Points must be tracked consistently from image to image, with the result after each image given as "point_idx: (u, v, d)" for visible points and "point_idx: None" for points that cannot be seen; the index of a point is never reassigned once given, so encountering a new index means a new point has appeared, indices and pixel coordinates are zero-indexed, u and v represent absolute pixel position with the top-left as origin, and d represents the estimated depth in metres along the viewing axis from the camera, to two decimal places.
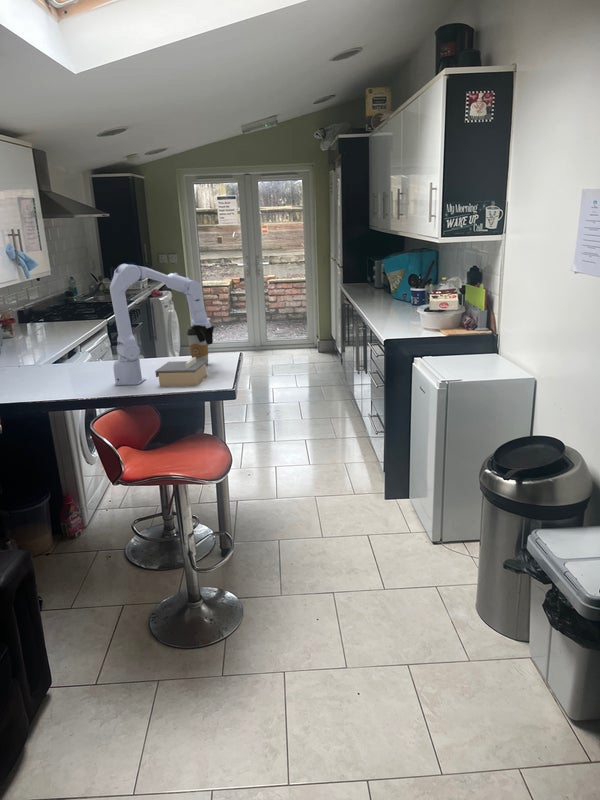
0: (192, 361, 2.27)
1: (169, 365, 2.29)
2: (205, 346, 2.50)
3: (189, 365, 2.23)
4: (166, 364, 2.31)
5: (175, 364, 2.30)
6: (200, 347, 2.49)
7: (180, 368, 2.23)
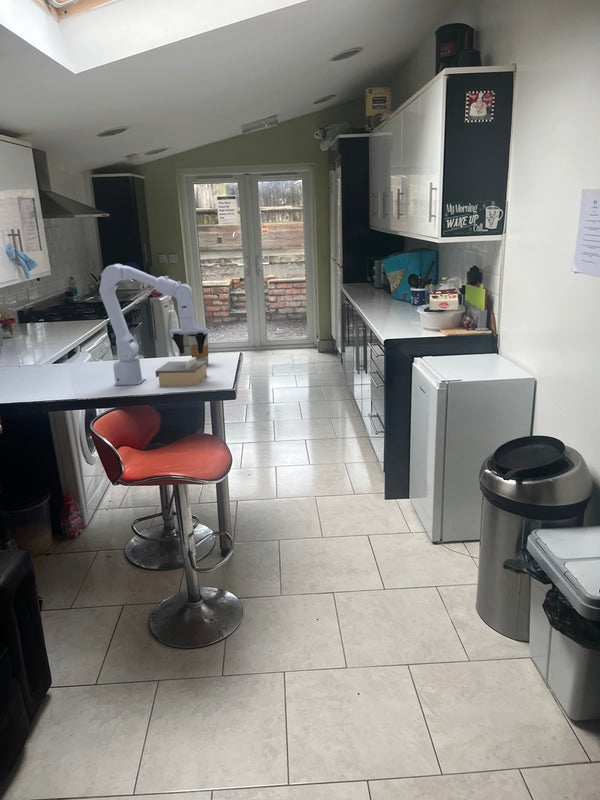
0: (192, 361, 2.27)
1: (169, 365, 2.29)
2: (205, 347, 2.50)
3: (189, 365, 2.23)
4: (166, 364, 2.31)
5: (175, 364, 2.30)
6: None
7: (180, 368, 2.23)
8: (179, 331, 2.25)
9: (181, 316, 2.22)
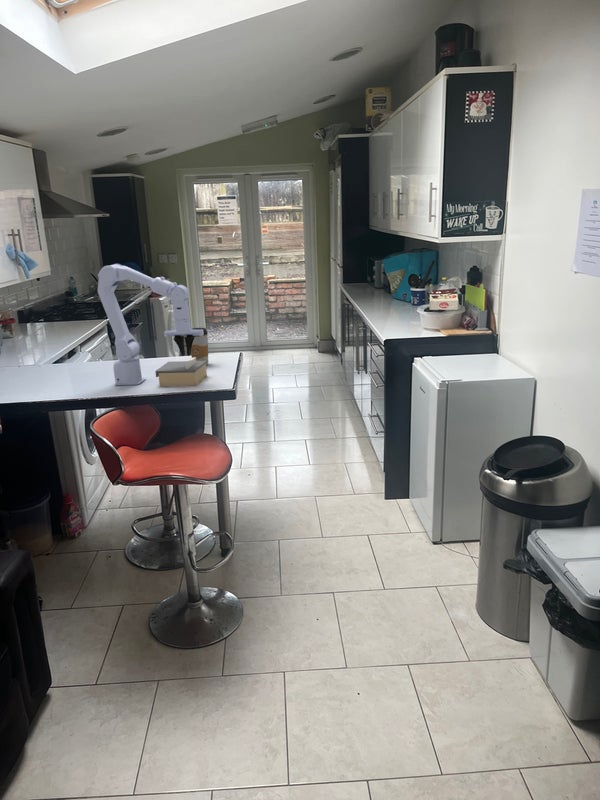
0: (192, 361, 2.27)
1: (169, 365, 2.29)
2: (205, 347, 2.50)
3: (189, 365, 2.23)
4: (166, 364, 2.31)
5: (175, 364, 2.30)
6: (200, 348, 2.48)
7: (180, 368, 2.23)
8: (174, 333, 2.22)
9: (176, 317, 2.20)
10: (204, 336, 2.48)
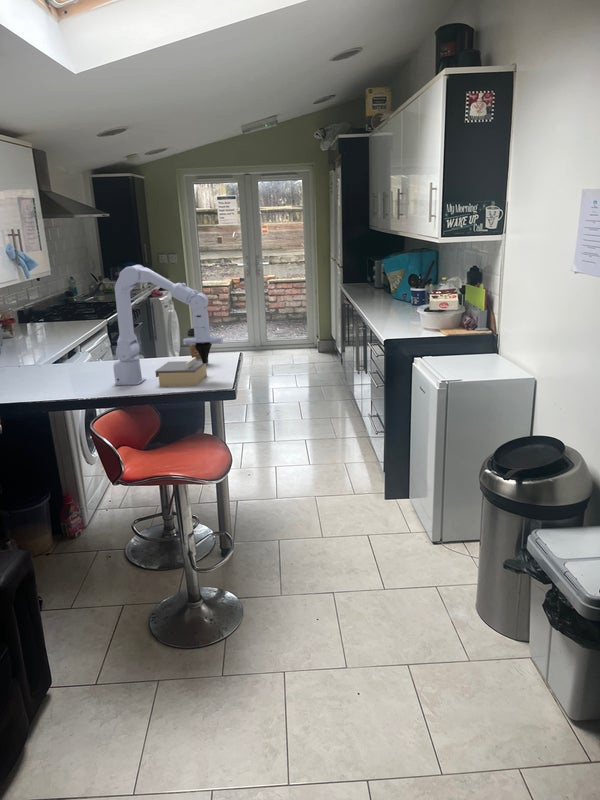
0: (192, 361, 2.27)
1: (169, 365, 2.29)
2: None
3: (189, 365, 2.23)
4: (166, 364, 2.31)
5: (175, 364, 2.30)
6: None
7: (180, 368, 2.23)
8: (194, 340, 2.22)
9: (195, 325, 2.20)
10: None
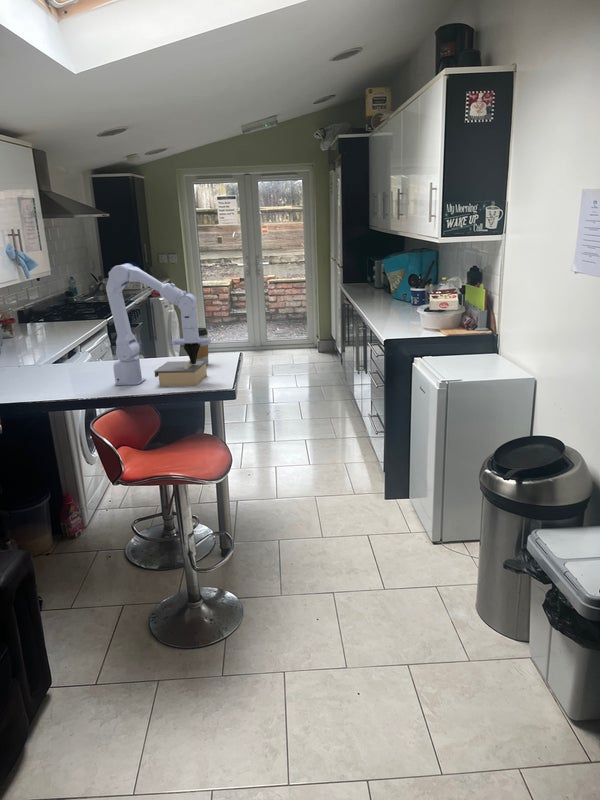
0: None
1: (168, 365, 2.29)
2: (205, 347, 2.50)
3: (188, 365, 2.23)
4: (165, 364, 2.31)
5: (174, 364, 2.30)
6: (200, 348, 2.48)
7: (179, 368, 2.23)
8: (182, 341, 2.22)
9: (184, 326, 2.20)
10: (204, 336, 2.48)
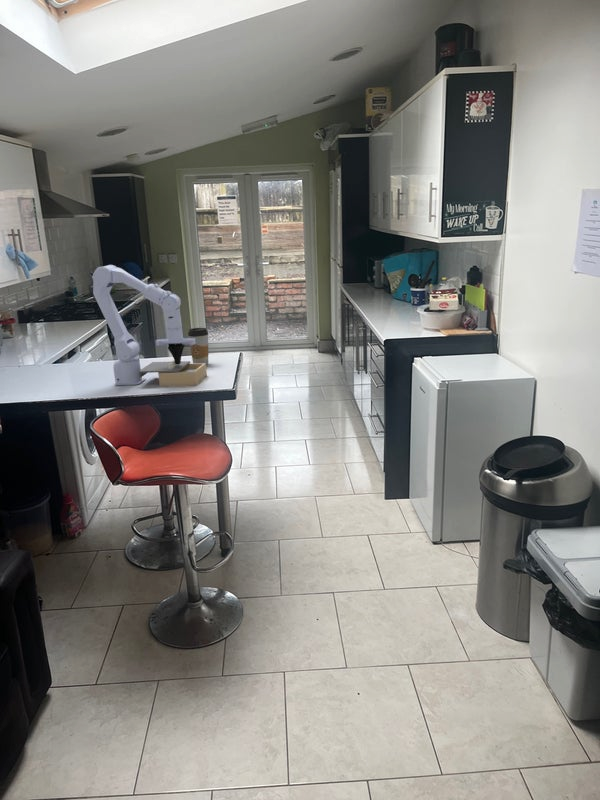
0: None
1: (153, 365, 2.30)
2: (206, 347, 2.50)
3: (172, 365, 2.24)
4: (150, 364, 2.32)
5: (159, 364, 2.31)
6: (200, 348, 2.48)
7: (163, 368, 2.24)
8: (166, 341, 2.23)
9: (168, 326, 2.21)
10: (204, 336, 2.48)
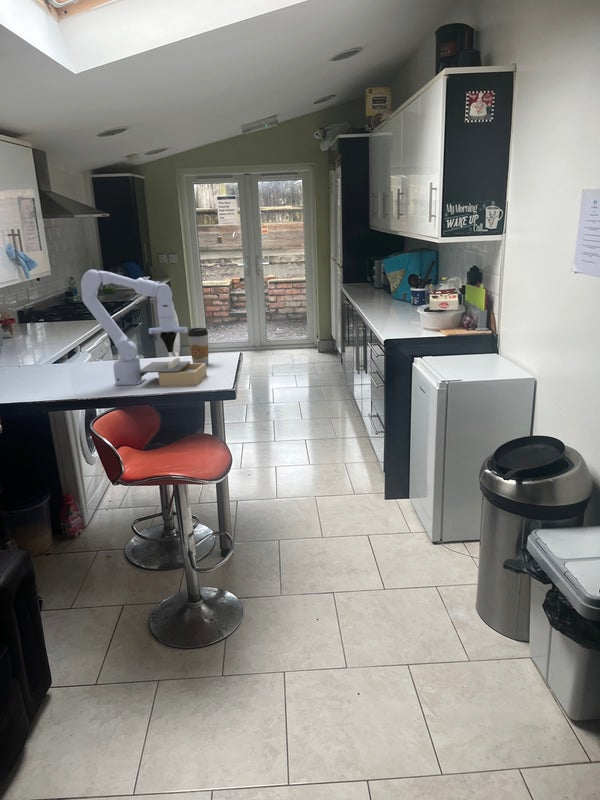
0: (175, 361, 2.28)
1: (153, 365, 2.30)
2: (205, 347, 2.50)
3: (172, 365, 2.24)
4: (150, 364, 2.32)
5: (159, 364, 2.31)
6: (200, 349, 2.48)
7: (163, 368, 2.24)
8: (159, 330, 2.27)
9: (162, 315, 2.25)
10: (204, 336, 2.48)
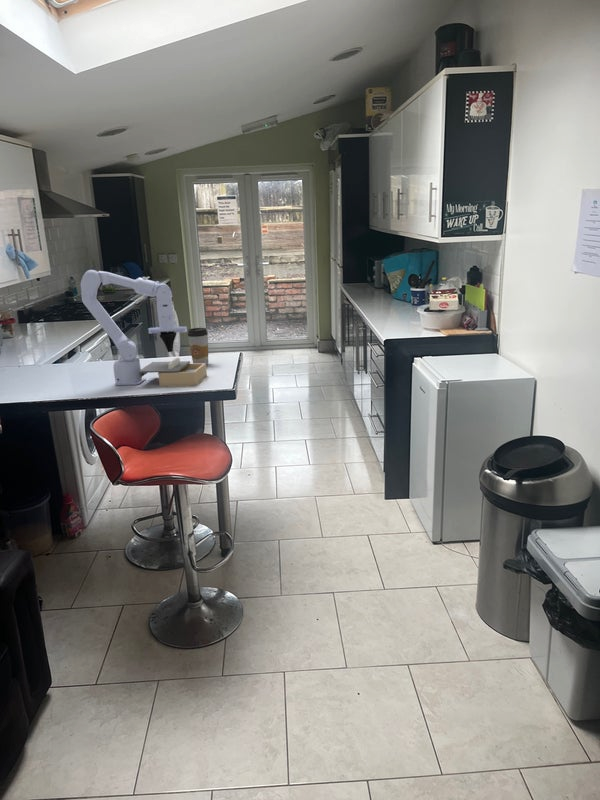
0: (175, 361, 2.28)
1: (153, 365, 2.30)
2: (205, 347, 2.50)
3: (172, 365, 2.24)
4: (150, 364, 2.32)
5: (159, 364, 2.31)
6: (200, 349, 2.48)
7: (163, 368, 2.24)
8: (158, 329, 2.28)
9: (161, 315, 2.25)
10: (204, 336, 2.48)
